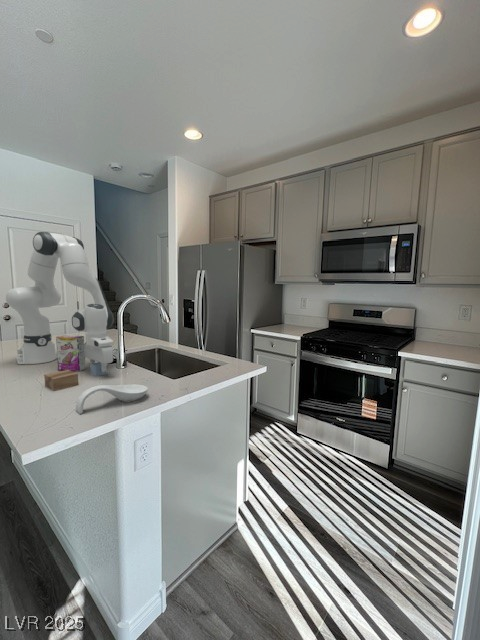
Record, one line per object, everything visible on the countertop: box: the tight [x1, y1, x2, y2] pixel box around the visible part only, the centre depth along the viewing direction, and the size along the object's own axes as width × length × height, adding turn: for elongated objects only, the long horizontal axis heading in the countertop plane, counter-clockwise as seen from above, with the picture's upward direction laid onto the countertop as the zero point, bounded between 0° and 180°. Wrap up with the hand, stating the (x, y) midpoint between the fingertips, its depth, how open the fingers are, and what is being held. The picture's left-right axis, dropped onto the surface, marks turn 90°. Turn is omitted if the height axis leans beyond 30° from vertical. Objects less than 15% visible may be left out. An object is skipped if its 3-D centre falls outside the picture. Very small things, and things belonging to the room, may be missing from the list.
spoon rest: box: [75, 383, 149, 415], centre depth 102 cm, size 24×12×7 cm, turn 136°
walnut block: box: [43, 370, 79, 392], centre depth 119 cm, size 9×9×5 cm
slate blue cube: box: [89, 361, 108, 377], centre depth 135 cm, size 5×5×5 cm
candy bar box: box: [55, 334, 87, 372], centre depth 140 cm, size 11×5×16 cm, turn 84°
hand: (98, 369), depth 135 cm, fingers open, 7 cm apart
